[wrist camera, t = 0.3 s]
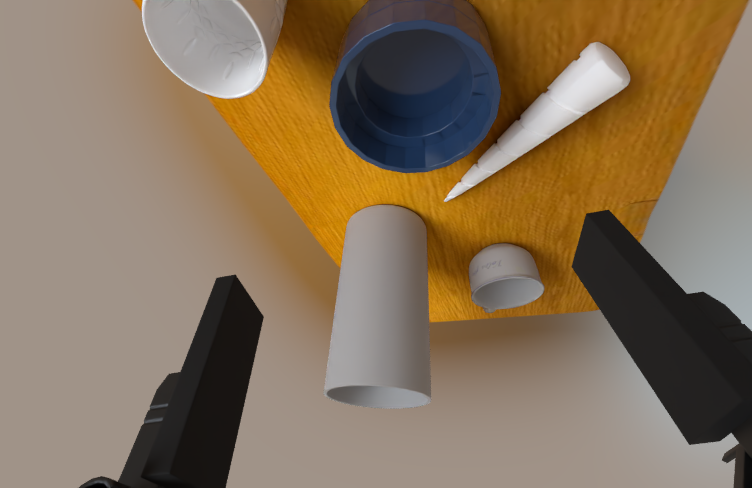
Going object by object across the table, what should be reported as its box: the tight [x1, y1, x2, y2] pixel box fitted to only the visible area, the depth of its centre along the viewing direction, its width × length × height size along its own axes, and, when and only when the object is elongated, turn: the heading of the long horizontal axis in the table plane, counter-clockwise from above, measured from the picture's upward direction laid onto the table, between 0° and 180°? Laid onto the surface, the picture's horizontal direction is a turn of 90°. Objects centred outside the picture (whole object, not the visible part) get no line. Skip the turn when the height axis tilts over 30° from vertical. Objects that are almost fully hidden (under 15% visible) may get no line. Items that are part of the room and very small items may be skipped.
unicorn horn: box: [444, 42, 630, 202], centre depth 38 cm, size 5×24×5 cm, turn 149°
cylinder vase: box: [324, 205, 431, 408], centre depth 48 cm, size 12×12×25 cm
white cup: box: [142, 0, 287, 99], centre depth 26 cm, size 8×8×10 cm
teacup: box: [469, 243, 544, 313], centre depth 58 cm, size 14×11×8 cm
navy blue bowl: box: [329, 0, 501, 173], centre depth 32 cm, size 14×14×7 cm
